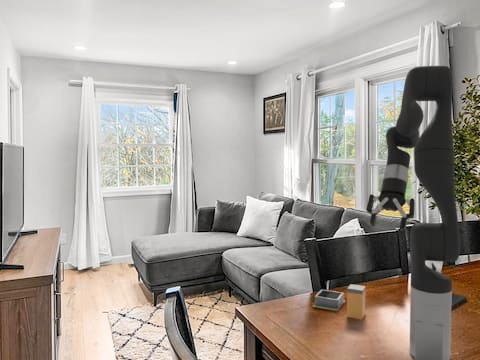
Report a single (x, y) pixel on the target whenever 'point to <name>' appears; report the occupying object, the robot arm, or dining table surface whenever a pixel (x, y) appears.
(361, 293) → the chute block
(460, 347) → the dining table surface
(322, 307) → the cream flat slab
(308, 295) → the dining table surface
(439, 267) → the beer glass
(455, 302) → the smart home device
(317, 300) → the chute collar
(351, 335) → the dining table surface
